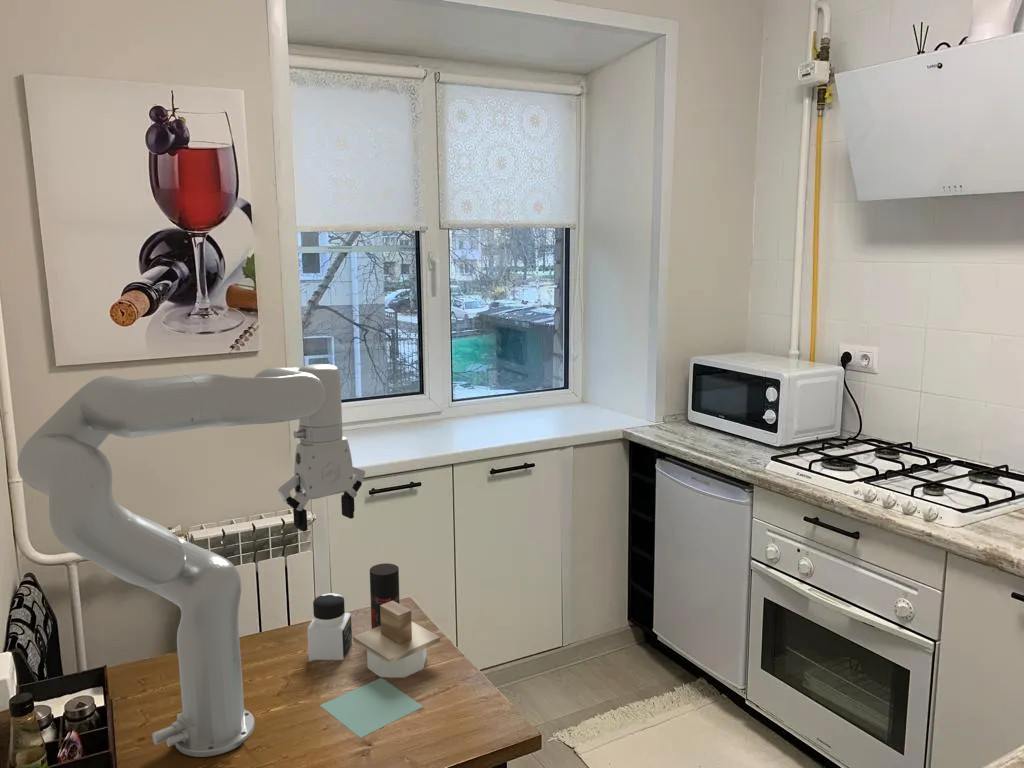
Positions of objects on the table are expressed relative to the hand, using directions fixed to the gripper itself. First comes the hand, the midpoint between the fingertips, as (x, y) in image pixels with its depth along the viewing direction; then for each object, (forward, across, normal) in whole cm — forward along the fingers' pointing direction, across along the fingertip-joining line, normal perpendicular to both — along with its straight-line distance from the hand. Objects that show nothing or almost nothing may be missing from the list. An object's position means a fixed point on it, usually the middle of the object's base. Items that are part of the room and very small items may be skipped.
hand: (325, 522), depth 144 cm
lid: (+25, +11, -6) cm, 28 cm away
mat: (+30, -1, -15) cm, 34 cm away
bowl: (+30, +11, -6) cm, 33 cm away
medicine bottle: (+31, +4, +7) cm, 32 cm away
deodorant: (+31, +16, +5) cm, 35 cm away
